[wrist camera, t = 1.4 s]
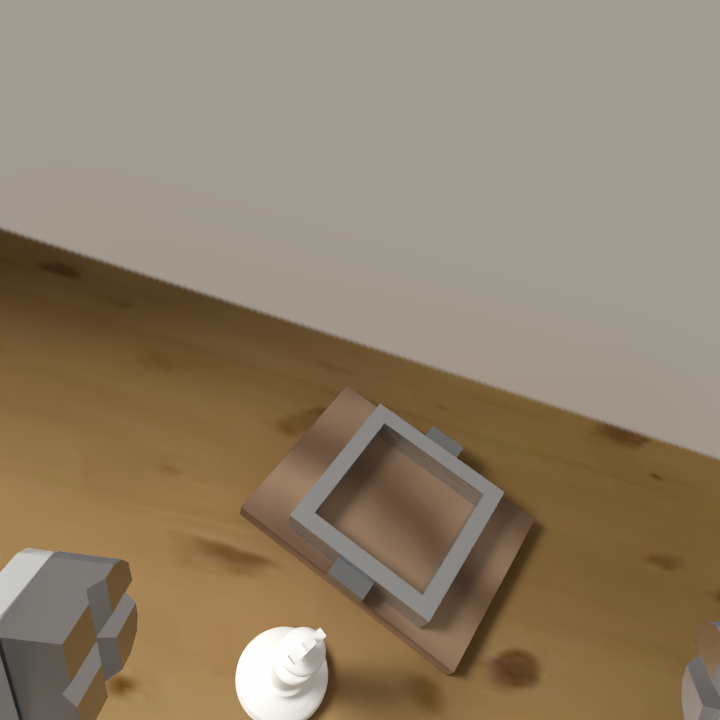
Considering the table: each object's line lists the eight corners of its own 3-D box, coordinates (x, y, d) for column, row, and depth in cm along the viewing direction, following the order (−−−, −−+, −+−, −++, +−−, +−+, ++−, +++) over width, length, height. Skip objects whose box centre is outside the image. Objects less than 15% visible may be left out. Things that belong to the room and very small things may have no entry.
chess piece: (345, 682, 35) (392, 651, 27) (273, 751, 33) (300, 740, 25) (290, 608, 37) (318, 558, 29) (216, 669, 34) (224, 633, 26)
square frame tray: (409, 646, 36) (418, 640, 34) (274, 541, 37) (277, 531, 36) (501, 489, 42) (512, 478, 41) (382, 405, 44) (389, 391, 43)
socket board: (446, 675, 37) (453, 672, 36) (240, 513, 39) (241, 506, 38) (526, 525, 43) (534, 519, 42) (343, 394, 45) (346, 385, 44)
